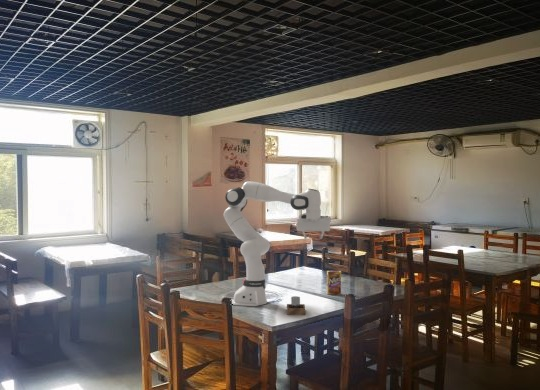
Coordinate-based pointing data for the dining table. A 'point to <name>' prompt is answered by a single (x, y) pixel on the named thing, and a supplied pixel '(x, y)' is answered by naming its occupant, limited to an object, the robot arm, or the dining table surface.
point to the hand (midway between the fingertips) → (313, 238)
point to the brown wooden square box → (296, 310)
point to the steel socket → (295, 302)
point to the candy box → (333, 282)
